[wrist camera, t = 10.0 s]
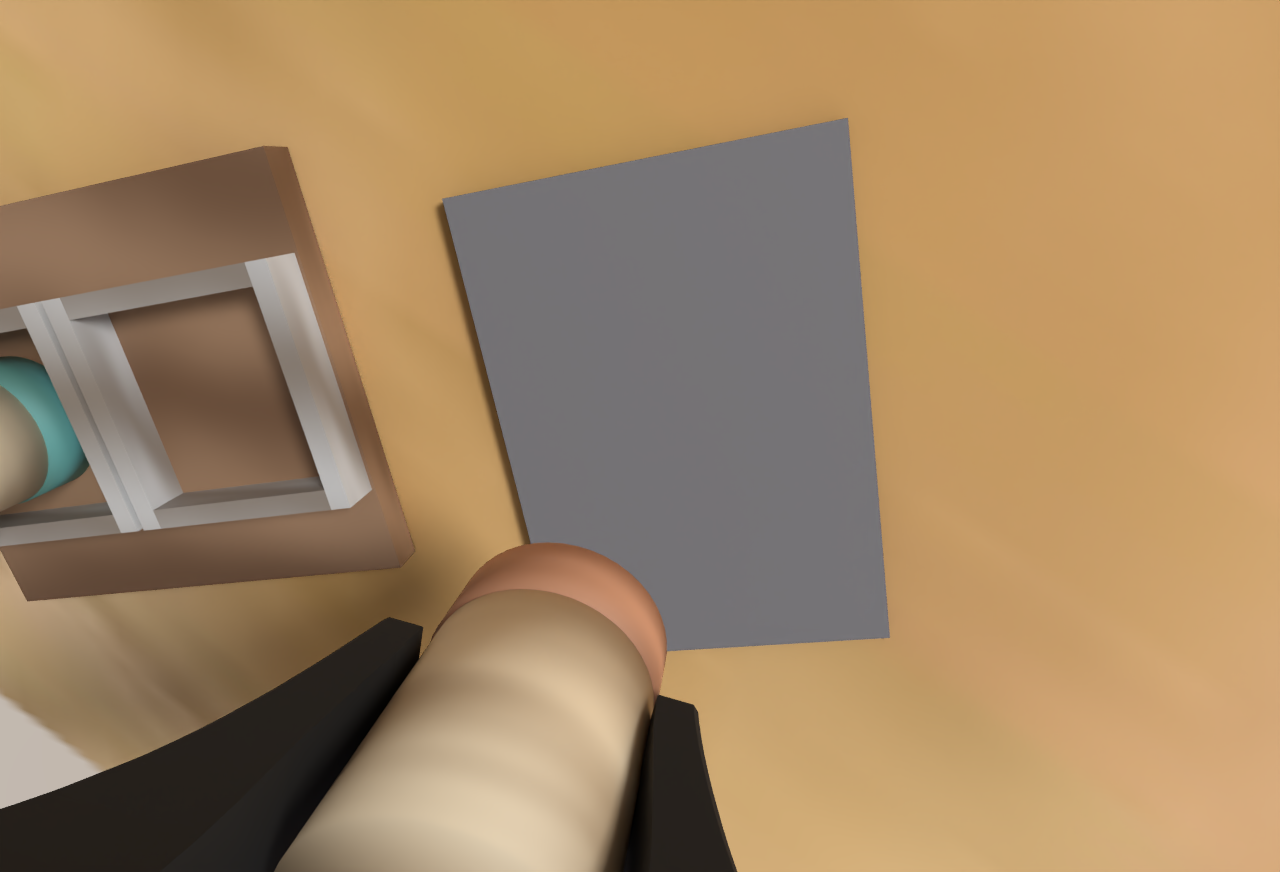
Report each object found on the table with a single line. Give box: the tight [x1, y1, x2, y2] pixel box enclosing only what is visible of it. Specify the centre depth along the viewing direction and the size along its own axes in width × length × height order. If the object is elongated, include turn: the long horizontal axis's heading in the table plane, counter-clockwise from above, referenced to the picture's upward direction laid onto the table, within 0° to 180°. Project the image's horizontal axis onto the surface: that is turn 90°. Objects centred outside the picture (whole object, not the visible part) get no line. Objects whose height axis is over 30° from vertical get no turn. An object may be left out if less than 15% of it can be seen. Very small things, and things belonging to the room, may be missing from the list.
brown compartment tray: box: [0, 146, 415, 601], centre depth 21 cm, size 12×14×2 cm
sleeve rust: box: [274, 542, 667, 872], centre depth 11 cm, size 4×4×6 cm
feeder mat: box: [442, 118, 890, 651], centre depth 20 cm, size 14×10×1 cm
